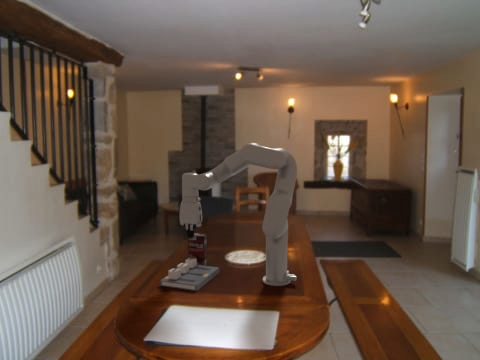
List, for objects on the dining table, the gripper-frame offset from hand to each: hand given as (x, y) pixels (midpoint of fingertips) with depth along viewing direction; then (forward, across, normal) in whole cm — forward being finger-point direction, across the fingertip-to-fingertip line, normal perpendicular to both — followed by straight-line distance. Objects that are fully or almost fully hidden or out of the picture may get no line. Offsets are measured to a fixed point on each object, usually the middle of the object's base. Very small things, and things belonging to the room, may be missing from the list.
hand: (190, 237), depth 194 cm
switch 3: (+15, +1, -3) cm, 15 cm away
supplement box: (+18, +3, -14) cm, 23 cm away
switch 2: (+15, +1, +5) cm, 16 cm away
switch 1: (+15, +1, +13) cm, 20 cm away
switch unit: (+18, -3, +5) cm, 19 cm away
